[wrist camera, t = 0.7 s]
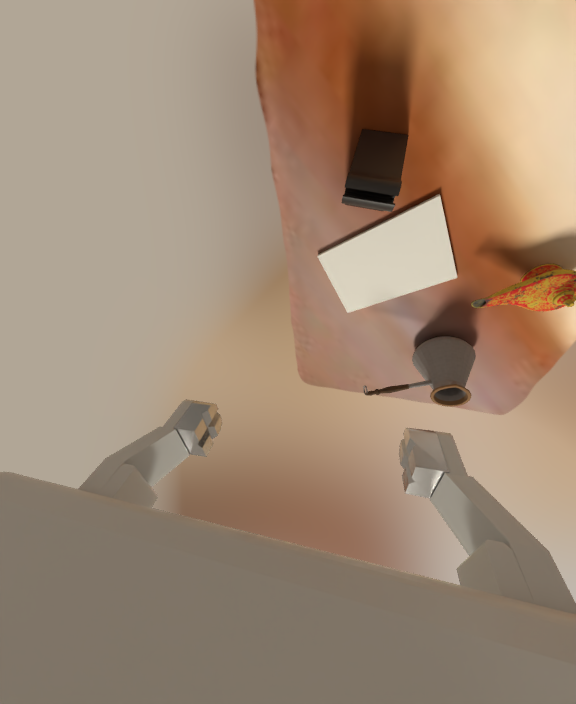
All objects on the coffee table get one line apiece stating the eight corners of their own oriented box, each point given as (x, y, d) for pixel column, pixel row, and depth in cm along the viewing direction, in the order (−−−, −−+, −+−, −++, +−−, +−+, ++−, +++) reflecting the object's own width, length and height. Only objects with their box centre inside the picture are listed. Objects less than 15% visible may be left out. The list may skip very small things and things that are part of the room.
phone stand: (362, 128, 32) (354, 139, 24) (408, 134, 31) (415, 148, 24) (345, 203, 39) (334, 232, 31) (382, 210, 38) (381, 241, 30)
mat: (439, 193, 35) (440, 195, 34) (456, 275, 42) (457, 277, 41) (318, 254, 46) (317, 256, 45) (348, 310, 53) (347, 312, 53)
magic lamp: (468, 263, 40) (486, 301, 33) (620, 254, 34) (682, 297, 27) (457, 298, 45) (470, 338, 38) (589, 295, 39) (635, 342, 32)
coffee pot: (481, 331, 48) (506, 392, 38) (461, 369, 56) (476, 428, 46) (369, 324, 54) (365, 376, 44) (365, 359, 62) (360, 409, 52)
